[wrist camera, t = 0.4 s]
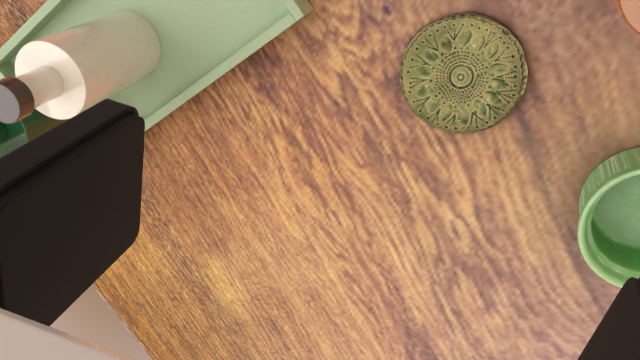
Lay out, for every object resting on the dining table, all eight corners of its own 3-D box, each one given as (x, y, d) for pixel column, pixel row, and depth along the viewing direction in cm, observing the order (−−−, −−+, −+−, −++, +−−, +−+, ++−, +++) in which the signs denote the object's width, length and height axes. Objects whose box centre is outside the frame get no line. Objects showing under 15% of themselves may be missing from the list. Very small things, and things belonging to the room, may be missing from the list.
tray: (209, -148, 36) (193, -149, 35) (313, 9, 39) (304, 15, 37) (4, 56, 48) (-15, 63, 46) (96, 166, 51) (81, 177, 49)
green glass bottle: (77, 44, 45) (-65, 101, 34) (119, 98, 46) (-5, 170, 35) (41, 77, 47) (-103, 141, 36) (82, 127, 48) (-45, 204, 37)
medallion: (381, 99, 40) (379, 102, 40) (434, -10, 36) (432, -7, 36) (487, 150, 40) (487, 154, 39) (552, 46, 36) (553, 49, 35)
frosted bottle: (129, -4, 42) (-8, 41, 31) (173, 55, 43) (57, 119, 32) (88, 33, 44) (-53, 88, 33) (131, 88, 45) (9, 159, 34)
